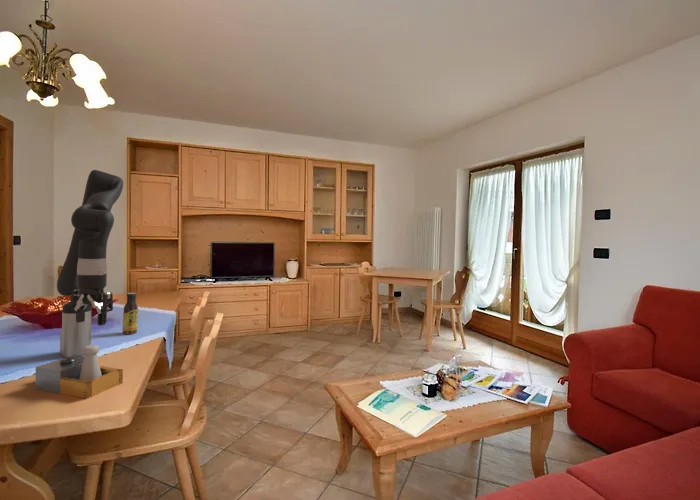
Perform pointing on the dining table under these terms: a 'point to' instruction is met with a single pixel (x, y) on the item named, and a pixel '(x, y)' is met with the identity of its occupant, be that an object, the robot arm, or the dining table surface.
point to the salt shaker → (90, 363)
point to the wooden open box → (74, 378)
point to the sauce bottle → (130, 315)
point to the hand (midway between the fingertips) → (91, 323)
